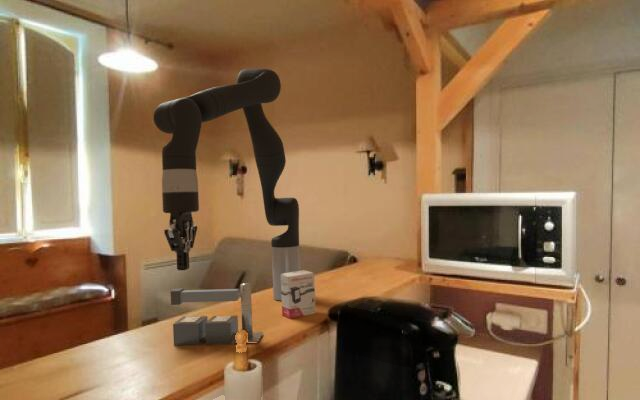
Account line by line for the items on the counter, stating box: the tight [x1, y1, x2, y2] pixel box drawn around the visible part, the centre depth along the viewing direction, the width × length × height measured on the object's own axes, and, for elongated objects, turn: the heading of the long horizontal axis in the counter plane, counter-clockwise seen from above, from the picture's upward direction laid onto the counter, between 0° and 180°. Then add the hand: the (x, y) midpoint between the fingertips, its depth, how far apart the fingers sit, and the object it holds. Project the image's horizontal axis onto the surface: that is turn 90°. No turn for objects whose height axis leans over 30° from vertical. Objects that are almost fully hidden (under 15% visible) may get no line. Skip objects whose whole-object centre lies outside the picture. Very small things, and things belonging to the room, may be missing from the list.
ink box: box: [281, 269, 316, 319], centre depth 115 cm, size 8×5×12 cm, turn 123°
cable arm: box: [170, 287, 240, 306], centre depth 96 cm, size 16×3×3 cm, turn 87°
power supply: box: [205, 314, 239, 346], centre depth 96 cm, size 6×6×5 cm
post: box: [231, 282, 264, 345], centre depth 96 cm, size 6×6×13 cm
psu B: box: [172, 315, 209, 346], centre depth 96 cm, size 6×6×5 cm
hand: (183, 269), depth 89 cm, fingers closed
